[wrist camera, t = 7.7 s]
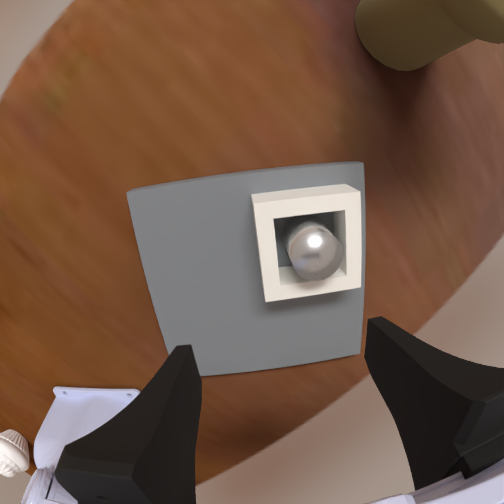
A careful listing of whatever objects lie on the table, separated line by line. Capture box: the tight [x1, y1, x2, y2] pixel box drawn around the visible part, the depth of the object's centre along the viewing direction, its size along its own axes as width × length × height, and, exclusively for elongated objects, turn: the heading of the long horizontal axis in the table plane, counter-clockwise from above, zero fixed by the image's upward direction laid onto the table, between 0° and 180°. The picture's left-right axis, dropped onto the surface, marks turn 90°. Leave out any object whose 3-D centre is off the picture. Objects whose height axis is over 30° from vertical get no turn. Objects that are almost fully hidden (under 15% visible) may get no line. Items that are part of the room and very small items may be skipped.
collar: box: [251, 184, 362, 302], centre depth 18 cm, size 6×6×2 cm
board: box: [127, 161, 366, 376], centre depth 21 cm, size 14×14×1 cm
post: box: [282, 214, 343, 281], centre depth 18 cm, size 3×3×4 cm
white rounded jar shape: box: [0, 429, 29, 477], centre depth 25 cm, size 6×6×7 cm
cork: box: [354, 0, 504, 71], centre depth 11 cm, size 6×6×11 cm
